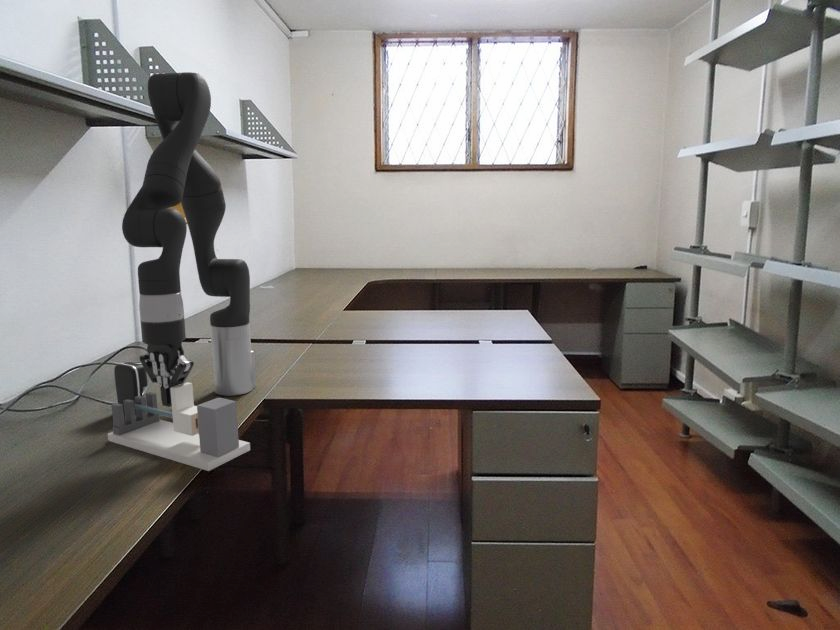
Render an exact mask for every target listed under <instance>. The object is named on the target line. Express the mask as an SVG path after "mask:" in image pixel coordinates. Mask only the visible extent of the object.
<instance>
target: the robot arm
mask: <svg viewBox="0 0 840 630" xmlns="http://www.w3.org/2000/svg"><path fill="white" fill-rule="evenodd" d="M147 95H148V99H149V103H150V106H151V110H152V114H153V116H154V119H155V121H156V125H157V127H158V131H160V135H161V138H162V141H161V142H160V143H159V144H158V145H157V146H156V147H155V148H154V150H153V152H152V153H151V154H150V157H149V158H148V162H147V163H146V168H145V169H146V170H145V173H144V177H143V182H142V186H141V187H140V189H139V190H138V191H137V194H136V195H135V196H134V198H133V199H132V201H131V203H130V204H129V206H128V208H127V209H126V211H125V213H124V214H123V218H122V224H121V229H122V234H123V238H124V239H125V241H126V242H127V243H128V244H129V245H130V246H133V247H137V248H162V249H161V250H162V251H161V254H160V255H159V257H158V258H155V259H152V260H150V259H149V260H146V261H143V262H141V263H140V264H139V265H138V266H137V280H138V281H137V282H138V290H139V291H138V292H139V305H138V308H139V309H138V310H139V318H140V320H139V321H140V331H141V333H140V334H141V342H143V344H145V345H146V352H145V354H141V355H140V356H139V361H140V364H141V365H143V367H144V368H145V370H146V374H147V377H149V379H150V381H151V382H152V384H155V383H156V384H157V387H159V388H160V389H159V390H160V396H161V397H160V398H161V399H160V400H161V405H162V406H163V407H168V408H170V407H172V403H171V391H170V388H171V387H175V386H178V385H181V384H184V383H186V381H187V379H188V377H189V374H190V373H191V371H192V369H193V367H194V360H192V359H189V360H188V359H187V358H186V357H185V352H184V348H183V345H182V344H183V341H185V340H186V338H187V337H186V324H185V323H186V321H185V320H186V319H185V311H184V308H185V307H184V302H183V301H184V300H183V297H182V290H181V276H180V273H181V272H180V269H181V261H182V255H183V248H184V245H185V241H186V237H187V232H188V231H189V235H190V237H191V242H192V246H193V247H192V248H193V253H194V258H195V263H196V268H197V269H196V270H197V274H198V280H199V284H200V287H201V289H202V290H203V292H204V293H205V295H206V296H209V297H217V298H218V297H222V298H227V297H228V298H230V299H229V304H228V305H227V306H226V307H224V308H221V309H219V310H218V309H217V310H215V311H213V312H211V314H210V315H209V323H210V324H209V325H210V336H211V337H210V339H211V351H212V352H211V353H212V367H213V368H212V369H213V381H214V383H213V384H214V393H215V394H217V395H219V396H228V397H230V396H231V397H232V396H238V395H243V394H248V393H250V392H251V391H252V390H253V389H254V388H256V387H257V382H256V381H257V379H256V364H255V362H256V361H255V352H254V350H252V346H251V345H252V344H251V328H250V327H251V325H250V311H251V297H250V295H251V288H250V287H251V280H250V279H251V277H250V276H251V275H250V268H249V266H248V264H247V263H246V261H245V260H243V259H239V258H217V256H216V255H217V254H216V251H215V243H214V242H215V239H216V235H217V234H218V233H217V232H218V230H219V228H220V225H221V224H222V222H223V219H224V216H225V212H226V199H225V195H224V190H223V187H222V183H221V180H220V177H219V175H218V174H217V172H216V171H215V170H214V168H212V166H211V165H210V163H208V162H207V161H206V160H205V159H204V158H203V157H202V155H201V154H200V153H198V151H197V150H196V148H197V146H198V143H199V141H200V139H201V136H202V135H203V131H204V128H205V126H206V123H207V121H208V118H209V115H210V113H211V105H212V102H211V101H212V96H211V91H210V87H209V84H208V82H207V81H206V79H205V78H204V76H202V75H201V74H200V73H197V72H191V71H190V72H189V71H187V72H169V73H168V72H161V73H154V74H152V75H150V76H149V78H148V81H147ZM180 203H181V207H182V209H183V212H184V215H185V217H184V216H183V214H182V213H181V212H180V211H179V210H177V209H175V208H173V207H176V206H178V205H179V204H180ZM187 227H188V228H187ZM187 229H188V230H187Z"/></svg>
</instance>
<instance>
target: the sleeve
mask: <svg viewBox="0 0 840 630" xmlns="http://www.w3.org/2000/svg"><path fill="white" fill-rule="evenodd" d="M170 391H171V403H172V406H171V412H172V415H173V418H172V423H173V427H174V431H175V432H179V433H183V434H187V435H190V436H194V435H196V434H198V424H196V418H198V413H197V405H195V403H194V402H195V400H194V399H195V398H194V388H193V382H190V381H189V382H187V381H186V382H184V383H183V384H179V385H177V386H175V387H171V388H170Z"/></svg>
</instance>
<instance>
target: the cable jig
mask: <svg viewBox="0 0 840 630" xmlns="http://www.w3.org/2000/svg"><path fill="white" fill-rule="evenodd" d="M157 401H158V400H157V393H155V392H152V391H151V392H146V393H145V396H143V395H142V396H136V397H135V403H134V401H133V400H129V399H127V400H124V401H123V404H124V413H123V405H122V404H119V403H118V402H115V403H111V405H110V406H111V413H112V415H111V416H112V421H113V423H112V424H113V426H112V431H111V432H108V433H107V439H108V440H107V441H108V442H111V443H114V444H118V445H121V446H125V447H126V448H127V447H128V448H131V449H134V450H138V451H141V452H145V453H148V454H150V455H154V456H157V457H161V458H163V459H164V458H165V459H168V460H170V461H173V462H178V463H180V464H183V465H188V466H190V467H192V468H193V467H194V468H196V469H200V470H203V471H207V472H210V471H213V470H214V469H216V468H217V467H219V466H221V465H223V464H226V463H228V462H229V461H231V460H233V459H235V458H237V457H239V456H241V455H244V454H246V453H247V452H249V451H251V442H248V441H245V440H241V439H239V424H238V407H237V401H236V400H232V399H228V398H222V397H216V398H214V399H211V400H208V401H205V402H202V403H200V404H197V405H196V406H197V413H198V418H196V424H198V434H196V435H194V436H190V435H187V434H183V433H179V432H175V431H174V427H173V422H171V421H167V420H164V419H160V416H164V417H167V418H171V419H173V415H172V411H168V410H164V409H159V408H158V402H157ZM135 409H136V414H135Z"/></svg>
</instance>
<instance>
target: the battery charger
mask: <svg viewBox="0 0 840 630" xmlns="http://www.w3.org/2000/svg"><path fill="white" fill-rule="evenodd" d="M113 374H114V382H115V390H116V391H115V392H116V397H117V403H119V404H122V405H123V413H124V404H123V401H124V400H127V399H129V400H133V401H134V403H135V397H136V396H142V397H143V391H144V388H147V387H148V374H147V372H146V370H145V368H144V367H143V365H142V363H136V362H130V361H127V362H122V363H118V364H117V365H115V366H114V373H113ZM135 414H136V409H135Z"/></svg>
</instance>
